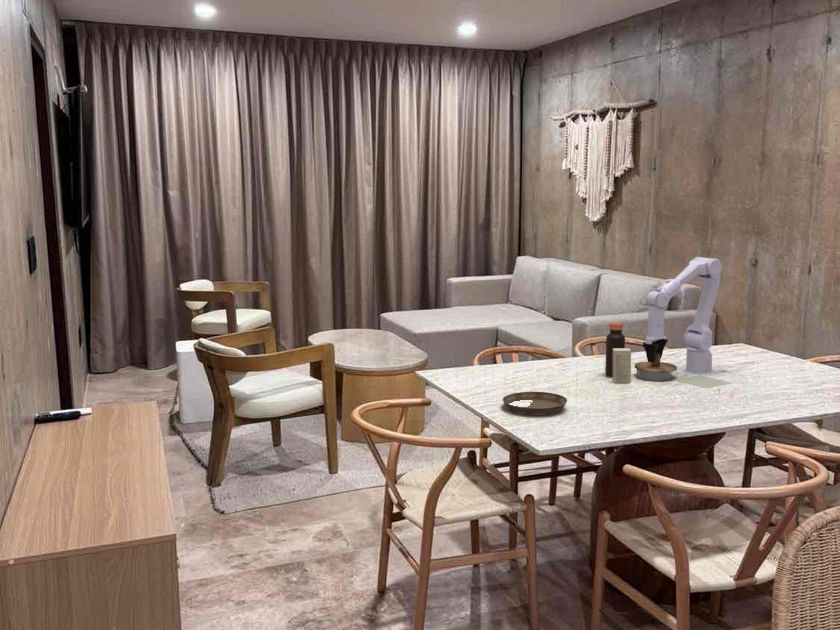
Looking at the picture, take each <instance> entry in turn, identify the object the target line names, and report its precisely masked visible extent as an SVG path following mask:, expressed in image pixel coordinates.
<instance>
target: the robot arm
mask: <svg viewBox="0 0 840 630" xmlns="http://www.w3.org/2000/svg"><path fill="white" fill-rule="evenodd" d="M722 270H723V265H722V262H721V261H720V260H719V259H718V258H716V257H715V258H712V257H711V258H710V257H703V256H695V257H694V258H693V259H691V260H690V261H689V262H688V266H687V267H685V268H684V269H683V270H682V271H681V272H680V273H679V274H678V275H677V276H676V277H675V278H667V279H666V280H665V282H664V283H662V284H661V285H660V286H659V287H657V288H656V289H655V291H654V290H651V291H650V292H649V293H648V294H647V295H646V298H645V299H644V300H645V304H646V306H647V312H648V313H647V315H648V317H647V334H646V338H645V341H644V342H642V347H643V349H644V350H645V354H646V360H647V362H654V360H655V355H656V353H659V354H660V360H661V359H662V357H663V353H664V350H665V347H666V345H667V343H668V339H667V338H668V337H667V335H665V311H666V310H665V309H666V307H667V306H668V305H669V302H670V301H671V299H672V298H673V297H674V296H676V295H677V294H678V293H679V292H680V291H681V287H682V286H683V285H684V284H686V283H687V282H689V281H690V280H691V279H693V278H694V277H695V276H697V277H698V278H699V279H701V281H702V283H703V285H702V289H701V293H700V296H699V300H698V305H697V308H696V312H695V317H694V319H693V323H692V324H690V325H689V326H688V327H687V328H686V332H685V333H684V334H683V337H682V343H683V345H684V346H685V349H686V361H685V369H683V370H680V371H681V372H683V373H689V374H691V375H695V376H699V375H704V374H708V373H713V372H714V371H713V370H712V367H713V354H712V352H711V350H710V349H711V347H712V344H713V333H714V332H713V331H712V329H710V327H709V326H710V322H711V318H712V314H713V310H714V306H715V303H716V298H717V295H718V290H719V287H720V283H721V274H722Z"/></svg>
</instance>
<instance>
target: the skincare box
mask: <svg viewBox="0 0 840 630" xmlns="http://www.w3.org/2000/svg"><path fill="white" fill-rule="evenodd" d="M611 379H612V382H613V384H628V383H629V384H630V383H632V349H630V348H629V347H628V348H626V347H625V348H613V365H612V377H611Z"/></svg>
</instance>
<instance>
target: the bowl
mask: <svg viewBox="0 0 840 630" xmlns="http://www.w3.org/2000/svg"><path fill="white" fill-rule="evenodd" d="M635 377H637V378H639V379H640V380H644V381H653V382H659V381H660V382H663V381H669V380H671V379H672V372H666V373H656V372H646V371H641V370H638V369H636V376H635Z"/></svg>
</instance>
